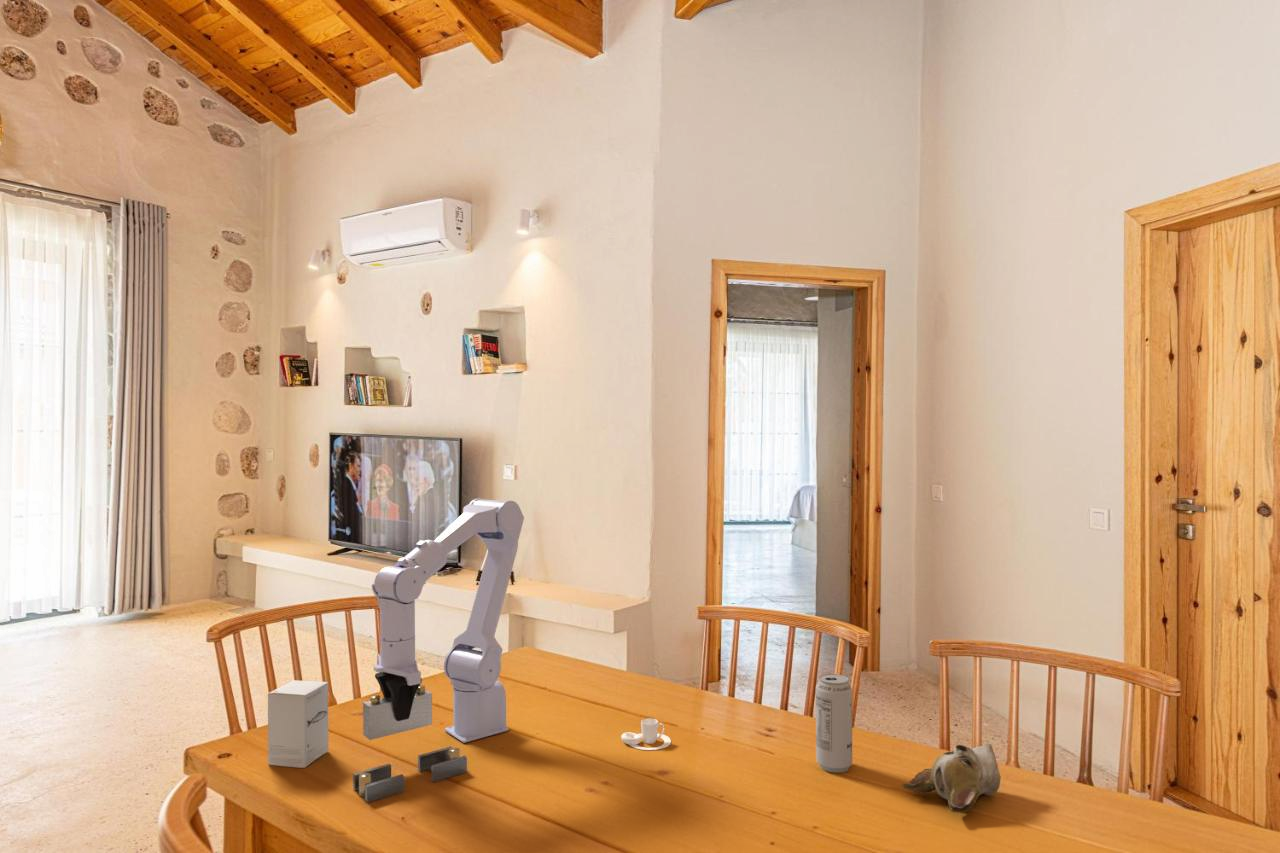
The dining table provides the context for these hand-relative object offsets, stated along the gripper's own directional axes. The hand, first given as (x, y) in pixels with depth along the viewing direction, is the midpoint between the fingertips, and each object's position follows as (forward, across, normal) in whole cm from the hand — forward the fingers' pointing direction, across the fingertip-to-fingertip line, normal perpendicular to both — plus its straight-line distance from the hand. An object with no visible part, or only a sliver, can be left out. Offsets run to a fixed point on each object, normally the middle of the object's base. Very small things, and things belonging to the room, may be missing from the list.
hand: (398, 716), depth 140 cm
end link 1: (+8, +7, -6) cm, 13 cm away
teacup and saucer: (+9, +16, +40) cm, 44 cm away
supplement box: (+9, -14, -12) cm, 21 cm away
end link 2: (+8, +7, +5) cm, 12 cm away
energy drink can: (+8, +47, +58) cm, 75 cm away
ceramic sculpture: (+9, +67, +63) cm, 92 cm away
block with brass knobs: (+2, 0, 0) cm, 2 cm away
